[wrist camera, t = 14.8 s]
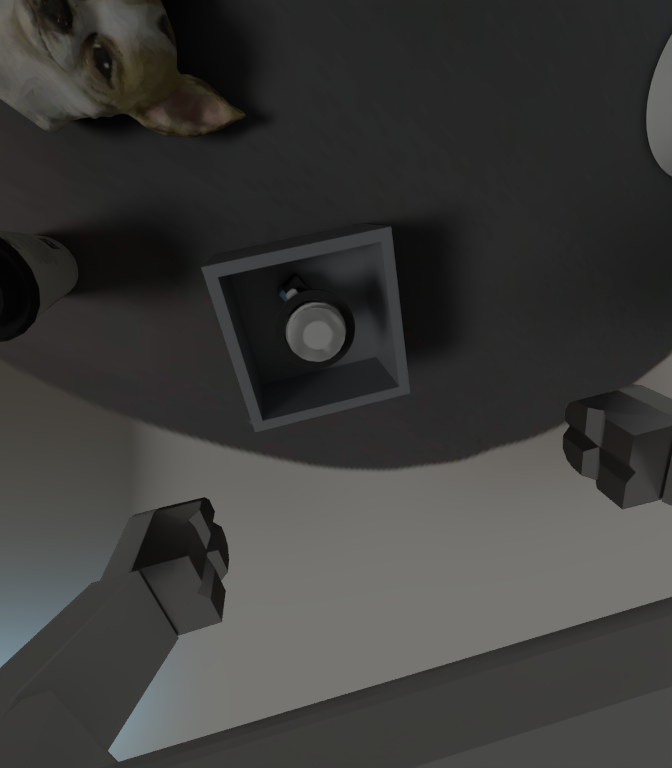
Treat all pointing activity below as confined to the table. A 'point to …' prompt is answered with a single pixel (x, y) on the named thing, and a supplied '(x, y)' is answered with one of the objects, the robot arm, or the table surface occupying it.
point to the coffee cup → (31, 279)
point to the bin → (334, 274)
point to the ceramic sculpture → (102, 67)
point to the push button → (312, 325)
